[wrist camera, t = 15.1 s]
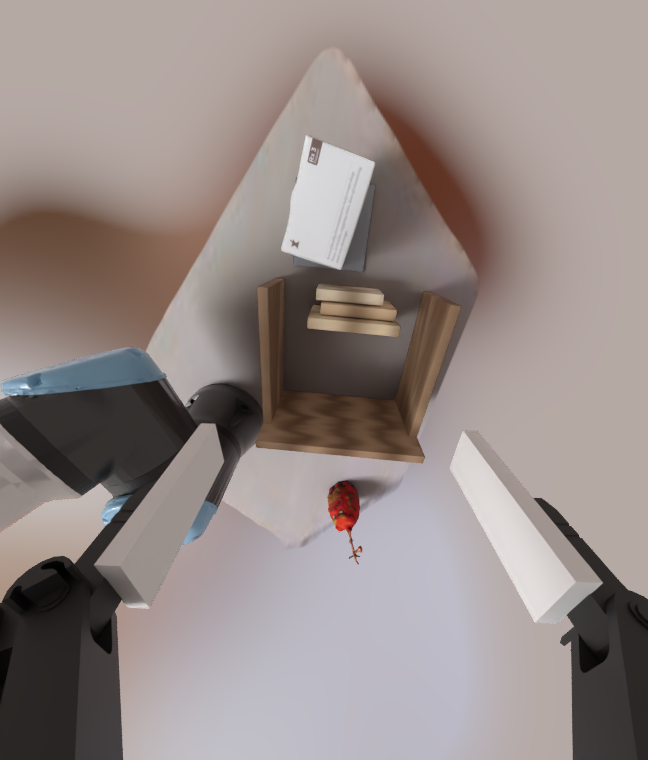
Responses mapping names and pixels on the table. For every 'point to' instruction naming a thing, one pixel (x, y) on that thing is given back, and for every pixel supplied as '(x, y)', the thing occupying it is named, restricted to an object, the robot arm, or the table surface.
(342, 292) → the offcut bundle
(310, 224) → the skincare box
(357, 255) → the grey rubber mat
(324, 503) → the table surface
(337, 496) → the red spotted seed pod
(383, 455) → the walnut rack
